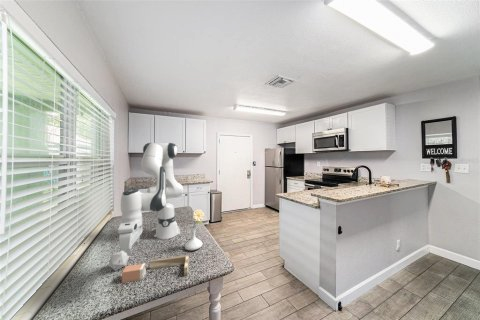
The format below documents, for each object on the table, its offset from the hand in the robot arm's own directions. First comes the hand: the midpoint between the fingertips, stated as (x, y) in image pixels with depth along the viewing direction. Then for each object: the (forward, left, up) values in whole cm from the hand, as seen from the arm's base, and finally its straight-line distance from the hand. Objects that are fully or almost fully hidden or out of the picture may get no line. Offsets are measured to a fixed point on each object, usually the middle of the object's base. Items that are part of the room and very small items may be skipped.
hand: (133, 249), depth 89 cm
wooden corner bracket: (-1, +16, -14) cm, 21 cm away
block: (0, 0, -14) cm, 14 cm away
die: (-11, -11, -14) cm, 21 cm away
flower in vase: (-22, +29, -14) cm, 39 cm away
